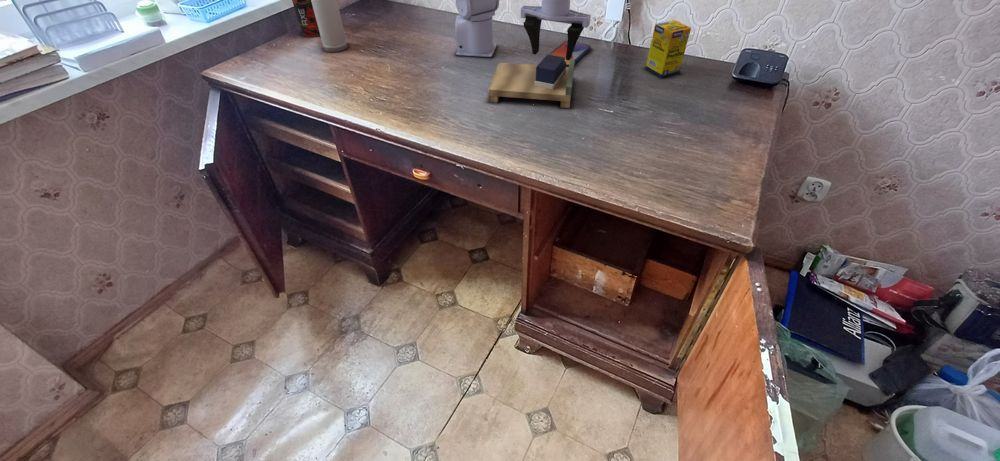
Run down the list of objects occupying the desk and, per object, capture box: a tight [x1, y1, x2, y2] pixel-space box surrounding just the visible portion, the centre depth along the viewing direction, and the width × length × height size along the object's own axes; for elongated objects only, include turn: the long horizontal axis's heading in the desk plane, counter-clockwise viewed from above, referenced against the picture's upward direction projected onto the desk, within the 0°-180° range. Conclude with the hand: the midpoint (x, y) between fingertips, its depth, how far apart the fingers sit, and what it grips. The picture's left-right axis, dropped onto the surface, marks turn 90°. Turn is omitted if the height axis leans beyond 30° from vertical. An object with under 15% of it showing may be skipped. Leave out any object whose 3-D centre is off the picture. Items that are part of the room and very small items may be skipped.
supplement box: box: [645, 19, 692, 78], centre depth 111 cm, size 6×6×11 cm
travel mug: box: [311, 0, 349, 53], centre depth 119 cm, size 6×7×20 cm
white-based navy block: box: [534, 53, 566, 89], centre depth 104 cm, size 9×4×4 cm, turn 156°
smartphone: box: [549, 40, 591, 67], centre depth 121 cm, size 7×15×1 cm, turn 151°
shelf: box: [488, 59, 576, 109], centre depth 106 cm, size 18×14×5 cm
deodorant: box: [291, 0, 320, 38], centre depth 129 cm, size 6×6×15 cm
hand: (552, 55), depth 102 cm, fingers open, 7 cm apart
